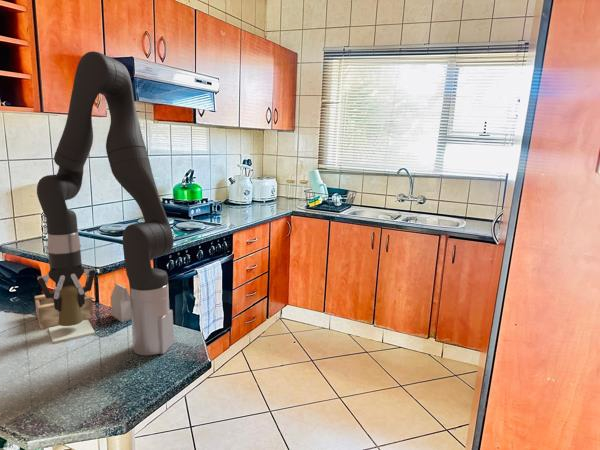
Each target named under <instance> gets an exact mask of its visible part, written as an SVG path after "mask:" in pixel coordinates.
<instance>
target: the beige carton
mask: <svg viewBox="0 0 600 450" xmlns="http://www.w3.org/2000/svg"><path fill="white" fill-rule="evenodd" d="M110 308H111V309H110V310H111V316H112V317H113V316H114V317H113V318H115V319H116V318H117V319H116V320H118V321H119V322H120V323H124V322H127V321H130V320H131V321H132V319H131V304H130V292H129V291H128V289H127V288H126V286H125V287H124V286H123V285H121V284H118V283H114V287H113V290H112V293H111V295H110Z"/></svg>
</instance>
